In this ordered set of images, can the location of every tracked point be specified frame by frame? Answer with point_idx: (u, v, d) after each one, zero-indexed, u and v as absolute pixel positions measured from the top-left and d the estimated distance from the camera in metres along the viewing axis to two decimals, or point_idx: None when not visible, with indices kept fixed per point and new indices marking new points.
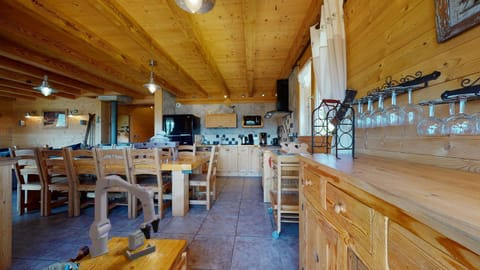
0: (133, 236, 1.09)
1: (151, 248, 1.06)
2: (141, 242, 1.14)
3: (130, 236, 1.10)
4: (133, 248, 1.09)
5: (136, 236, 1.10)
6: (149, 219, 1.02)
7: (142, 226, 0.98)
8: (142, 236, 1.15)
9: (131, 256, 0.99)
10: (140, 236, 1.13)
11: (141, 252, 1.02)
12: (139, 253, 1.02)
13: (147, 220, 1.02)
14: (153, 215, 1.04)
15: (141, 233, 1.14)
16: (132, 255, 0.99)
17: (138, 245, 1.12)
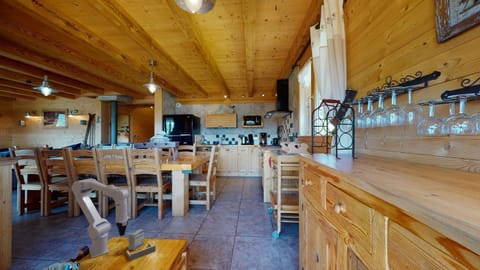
0: (133, 236, 1.09)
1: (151, 248, 1.06)
2: (141, 242, 1.14)
3: (130, 236, 1.10)
4: (133, 248, 1.09)
5: (136, 236, 1.10)
6: (125, 217, 1.05)
7: (124, 223, 1.01)
8: (142, 236, 1.15)
9: (131, 256, 0.99)
10: (140, 236, 1.13)
11: (141, 252, 1.02)
12: (139, 253, 1.02)
13: (123, 219, 1.04)
14: (127, 214, 1.08)
15: (141, 233, 1.14)
16: (132, 255, 0.99)
17: (138, 245, 1.12)
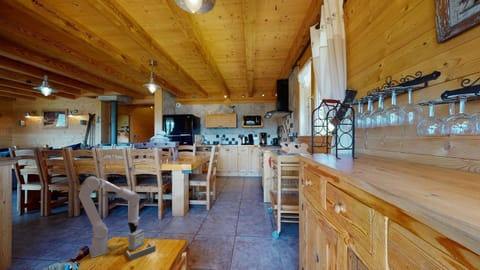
0: (133, 236, 1.09)
1: (151, 248, 1.06)
2: (141, 242, 1.14)
3: (130, 236, 1.10)
4: (133, 248, 1.09)
5: (136, 236, 1.10)
6: (136, 218, 1.18)
7: (136, 223, 1.14)
8: (142, 236, 1.15)
9: (131, 256, 0.99)
10: (140, 236, 1.13)
11: (141, 252, 1.02)
12: (139, 253, 1.02)
13: (135, 219, 1.17)
14: None
15: (141, 233, 1.14)
16: (132, 255, 0.99)
17: (138, 245, 1.12)
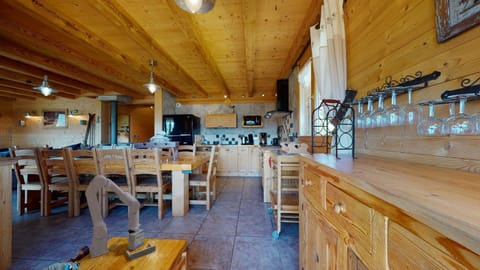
0: (133, 236, 1.09)
1: (151, 248, 1.06)
2: (141, 242, 1.14)
3: (130, 236, 1.10)
4: (133, 248, 1.09)
5: (136, 236, 1.10)
6: (137, 225, 1.17)
7: (137, 231, 1.13)
8: (142, 236, 1.15)
9: (131, 256, 0.99)
10: (140, 236, 1.13)
11: (141, 252, 1.02)
12: (139, 253, 1.02)
13: (135, 226, 1.16)
14: (138, 222, 1.20)
15: (141, 233, 1.14)
16: (132, 255, 0.99)
17: (138, 245, 1.12)
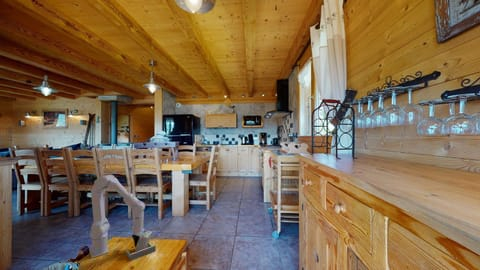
0: (145, 238, 1.06)
1: (151, 248, 1.06)
2: (147, 244, 1.12)
3: (142, 238, 1.06)
4: None
5: (147, 239, 1.08)
6: (141, 230, 1.10)
7: (141, 236, 1.06)
8: (149, 238, 1.13)
9: (131, 256, 0.99)
10: (149, 238, 1.11)
11: (141, 252, 1.02)
12: (139, 253, 1.02)
13: (140, 231, 1.09)
14: None
15: (150, 236, 1.12)
16: (132, 255, 0.99)
17: (145, 247, 1.09)
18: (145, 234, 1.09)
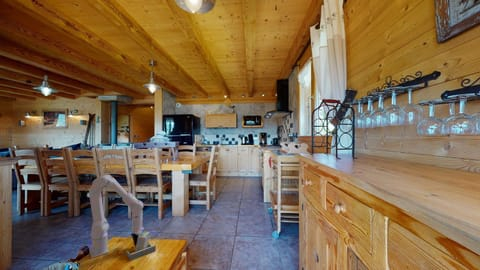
0: (143, 238, 1.06)
1: (151, 248, 1.06)
2: (147, 245, 1.11)
3: (140, 238, 1.06)
4: None
5: (146, 239, 1.07)
6: (140, 229, 1.12)
7: (140, 235, 1.08)
8: (148, 238, 1.12)
9: (131, 256, 0.99)
10: (147, 238, 1.10)
11: (141, 252, 1.02)
12: (139, 253, 1.02)
13: (139, 230, 1.11)
14: None
15: (148, 235, 1.11)
16: (132, 255, 0.99)
17: (145, 248, 1.08)
18: (142, 235, 1.08)
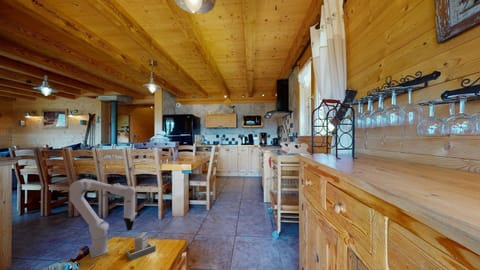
0: (140, 239, 1.06)
1: (151, 248, 1.06)
2: (146, 245, 1.11)
3: (137, 239, 1.05)
4: None
5: (143, 239, 1.07)
6: (133, 213, 1.12)
7: (133, 219, 1.07)
8: (147, 238, 1.12)
9: (131, 256, 0.99)
10: (145, 239, 1.10)
11: (141, 252, 1.02)
12: (139, 253, 1.02)
13: (131, 214, 1.11)
14: (134, 210, 1.14)
15: (146, 235, 1.11)
16: (132, 255, 0.99)
17: (144, 248, 1.08)
18: (140, 235, 1.08)
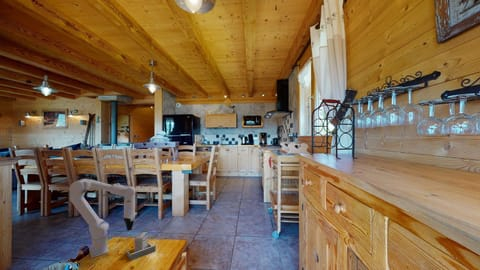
0: (140, 239, 1.06)
1: (151, 248, 1.06)
2: (146, 245, 1.11)
3: (137, 239, 1.05)
4: None
5: (143, 239, 1.07)
6: (133, 213, 1.12)
7: (133, 219, 1.07)
8: (147, 238, 1.12)
9: (131, 256, 0.99)
10: (145, 239, 1.10)
11: (141, 252, 1.02)
12: (139, 253, 1.02)
13: (131, 214, 1.11)
14: (134, 210, 1.14)
15: (146, 235, 1.11)
16: (132, 255, 0.99)
17: (144, 248, 1.08)
18: (140, 235, 1.08)
